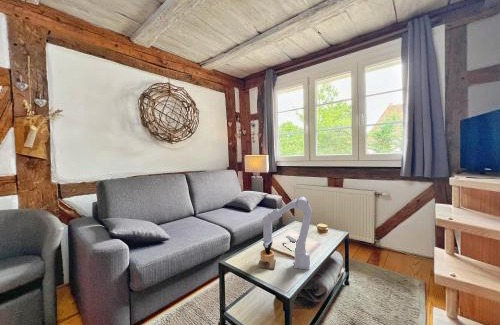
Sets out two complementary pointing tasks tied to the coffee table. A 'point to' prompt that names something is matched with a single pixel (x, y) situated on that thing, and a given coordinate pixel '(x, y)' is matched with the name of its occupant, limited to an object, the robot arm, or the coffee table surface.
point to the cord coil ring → (267, 256)
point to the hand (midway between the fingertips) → (268, 253)
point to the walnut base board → (266, 266)
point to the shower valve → (291, 239)
